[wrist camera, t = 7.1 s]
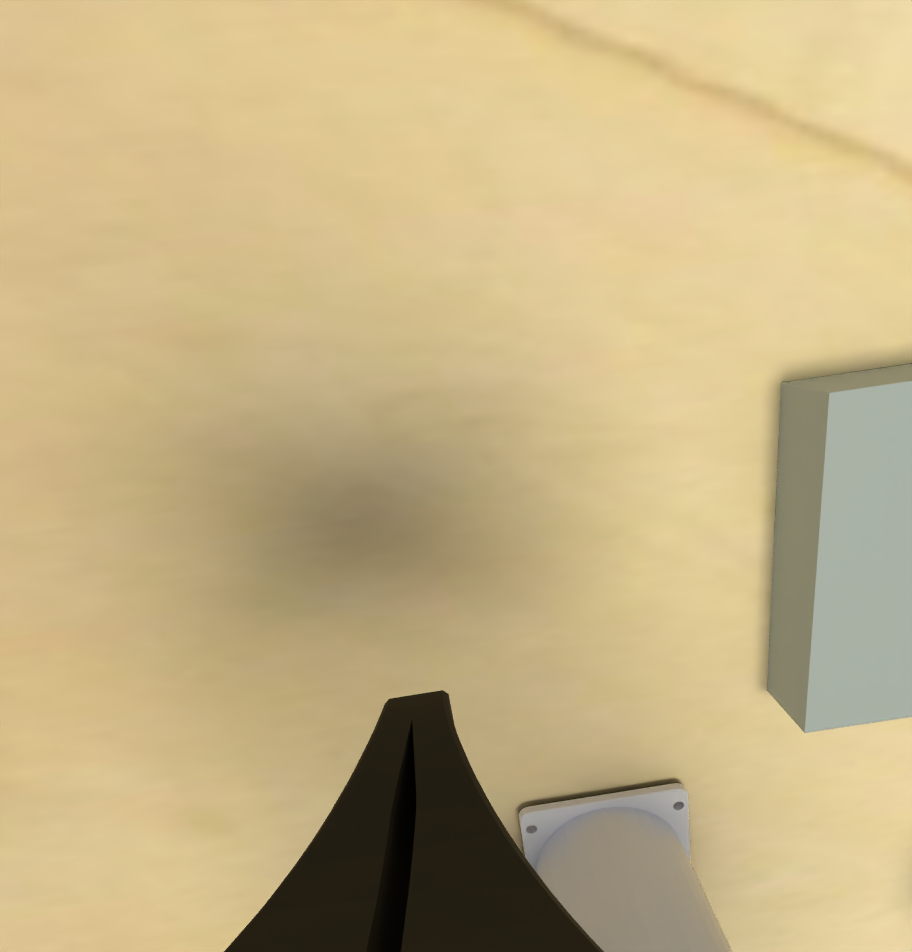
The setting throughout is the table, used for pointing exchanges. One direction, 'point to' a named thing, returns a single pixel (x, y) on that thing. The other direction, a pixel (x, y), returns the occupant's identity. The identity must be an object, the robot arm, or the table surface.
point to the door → (843, 550)
